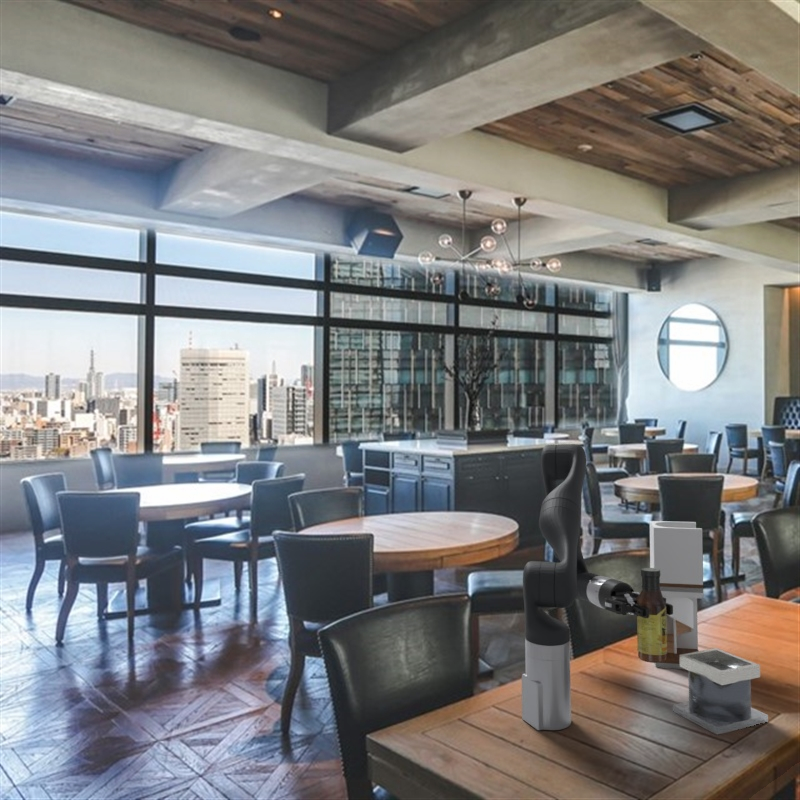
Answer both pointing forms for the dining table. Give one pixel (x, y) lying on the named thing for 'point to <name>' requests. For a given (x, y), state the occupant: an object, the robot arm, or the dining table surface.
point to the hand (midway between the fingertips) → (659, 611)
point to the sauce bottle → (652, 619)
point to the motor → (719, 691)
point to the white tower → (678, 583)
